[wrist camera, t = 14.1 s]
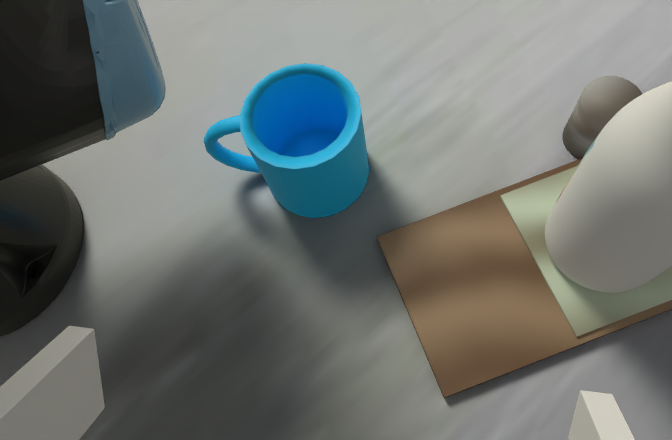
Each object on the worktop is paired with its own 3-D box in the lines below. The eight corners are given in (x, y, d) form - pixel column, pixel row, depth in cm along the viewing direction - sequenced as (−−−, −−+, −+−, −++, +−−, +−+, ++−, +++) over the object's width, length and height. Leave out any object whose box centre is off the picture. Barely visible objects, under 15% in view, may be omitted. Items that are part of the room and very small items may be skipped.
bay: (360, 200, 42) (354, 170, 37) (607, 106, 42) (631, 65, 38) (444, 397, 36) (449, 391, 31) (731, 285, 36) (778, 263, 32)
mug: (371, 126, 44) (364, 61, 37) (367, 218, 41) (358, 169, 34) (229, 127, 46) (194, 66, 39) (215, 217, 43) (175, 169, 36)
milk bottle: (664, 302, 36) (936, 151, 17) (541, 288, 37) (673, 136, 19) (657, 195, 38) (884, -32, 20) (542, 186, 40) (658, -35, 21)
